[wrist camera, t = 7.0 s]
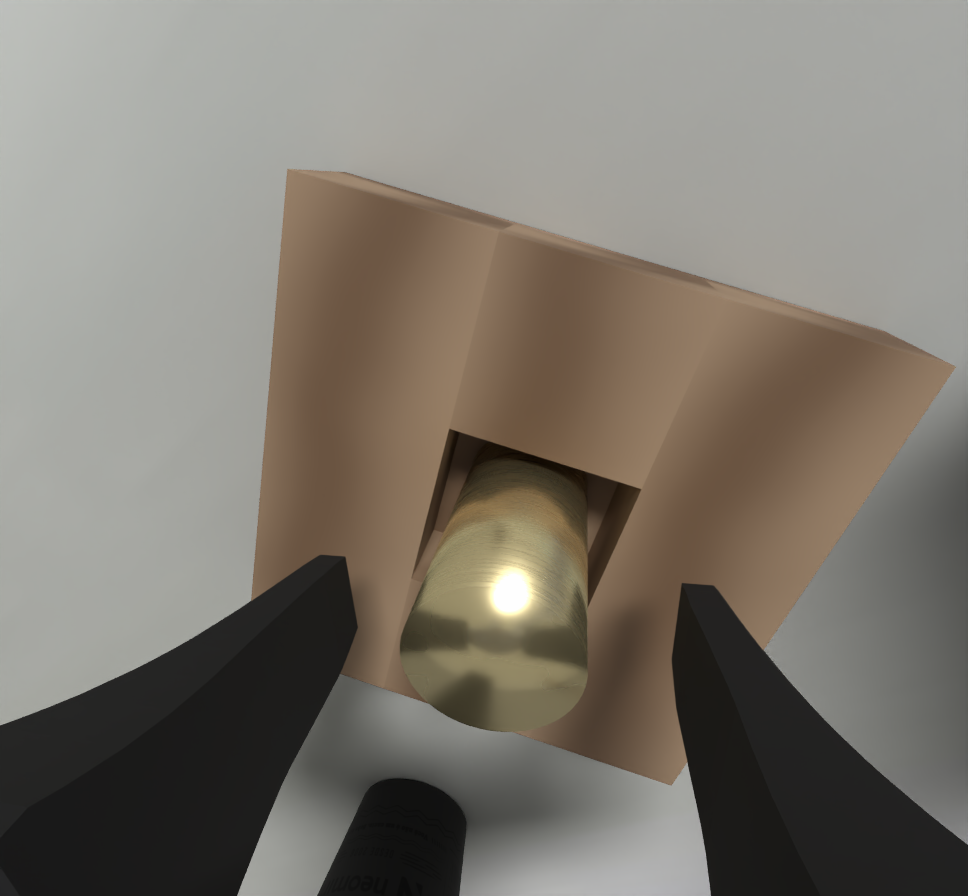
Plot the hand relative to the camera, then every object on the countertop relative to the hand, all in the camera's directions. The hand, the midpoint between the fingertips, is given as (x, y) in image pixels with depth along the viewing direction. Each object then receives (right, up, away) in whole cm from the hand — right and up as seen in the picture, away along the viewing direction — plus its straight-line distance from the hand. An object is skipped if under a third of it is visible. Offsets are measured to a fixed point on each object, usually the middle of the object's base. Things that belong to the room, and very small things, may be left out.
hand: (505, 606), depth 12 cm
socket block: (+1, +2, +5) cm, 6 cm away
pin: (+1, +2, +5) cm, 5 cm away
